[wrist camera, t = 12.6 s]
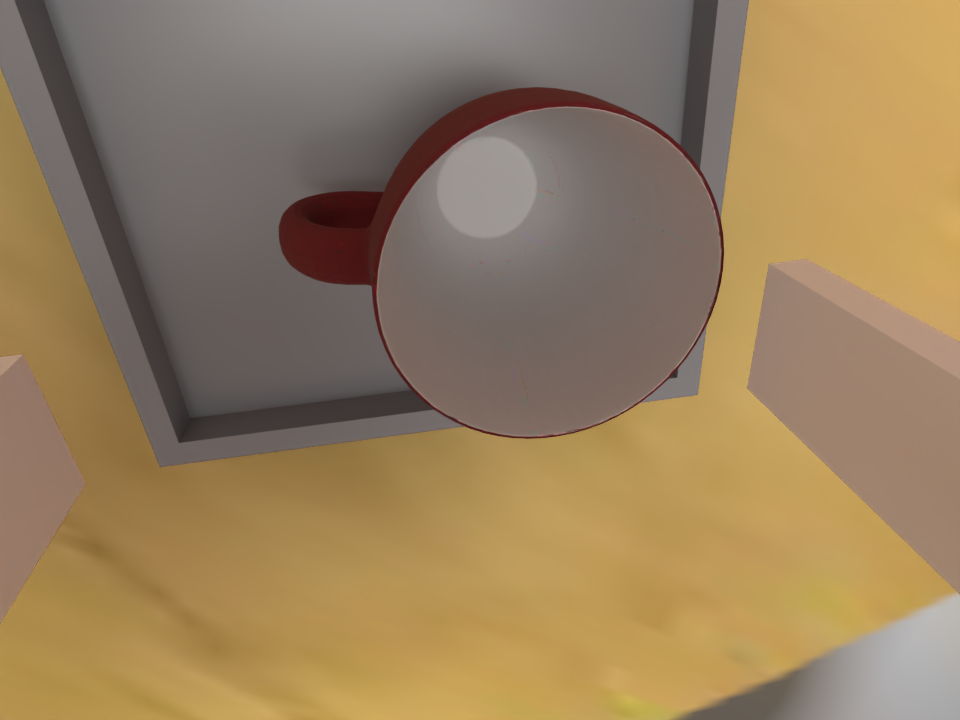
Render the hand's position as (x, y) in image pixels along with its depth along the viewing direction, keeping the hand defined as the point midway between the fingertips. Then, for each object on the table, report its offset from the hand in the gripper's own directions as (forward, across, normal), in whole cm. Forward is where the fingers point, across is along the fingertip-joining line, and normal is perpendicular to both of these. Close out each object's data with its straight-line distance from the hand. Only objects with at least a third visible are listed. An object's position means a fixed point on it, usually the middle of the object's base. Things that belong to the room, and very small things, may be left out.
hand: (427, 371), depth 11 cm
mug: (+13, +2, 0) cm, 13 cm away
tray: (+13, 0, 0) cm, 13 cm away
